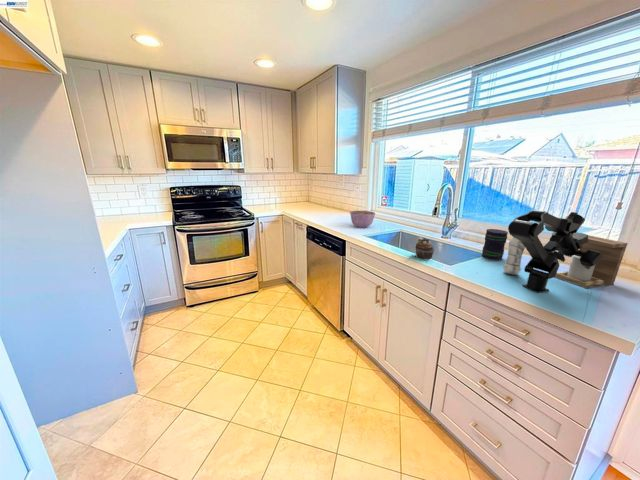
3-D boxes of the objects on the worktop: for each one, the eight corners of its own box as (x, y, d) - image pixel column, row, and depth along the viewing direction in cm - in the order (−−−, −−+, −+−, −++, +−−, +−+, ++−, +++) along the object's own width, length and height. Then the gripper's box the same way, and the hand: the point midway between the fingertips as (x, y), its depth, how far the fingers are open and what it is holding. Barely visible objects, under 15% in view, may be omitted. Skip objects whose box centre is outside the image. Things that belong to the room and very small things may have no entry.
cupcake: (426, 261, 139) (429, 242, 136) (410, 256, 146) (412, 238, 143) (436, 257, 144) (439, 240, 141) (421, 253, 152) (423, 236, 149)
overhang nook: (585, 288, 110) (599, 245, 105) (549, 275, 123) (559, 236, 118) (613, 284, 114) (627, 243, 109) (575, 272, 127) (586, 234, 122)
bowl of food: (344, 226, 216) (344, 212, 213) (359, 223, 229) (360, 209, 226) (363, 230, 202) (364, 215, 199) (379, 227, 215) (380, 213, 212)
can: (562, 275, 122) (569, 250, 119) (581, 276, 121) (588, 251, 118) (574, 282, 115) (582, 255, 112) (594, 283, 114) (603, 257, 110)
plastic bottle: (500, 273, 124) (510, 231, 118) (503, 269, 128) (512, 229, 123) (517, 277, 119) (528, 234, 114) (520, 273, 124) (529, 232, 119)
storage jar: (505, 258, 145) (511, 231, 141) (497, 261, 140) (503, 234, 136) (486, 253, 153) (491, 228, 149) (477, 256, 148) (482, 230, 144)
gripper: (607, 232, 100) (617, 258, 106) (553, 222, 118) (564, 245, 123) (586, 253, 100) (597, 278, 106) (536, 240, 117) (548, 262, 123)
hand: (576, 264), depth 115 cm, fingers open, 9 cm apart
